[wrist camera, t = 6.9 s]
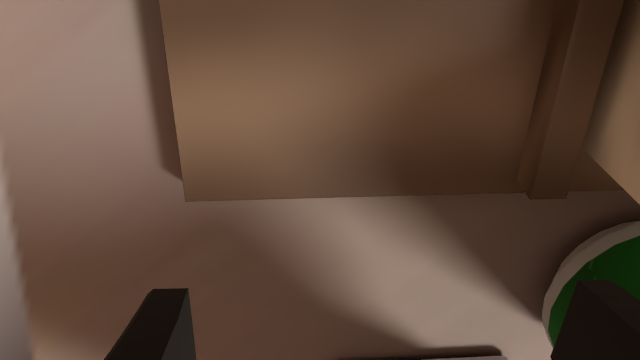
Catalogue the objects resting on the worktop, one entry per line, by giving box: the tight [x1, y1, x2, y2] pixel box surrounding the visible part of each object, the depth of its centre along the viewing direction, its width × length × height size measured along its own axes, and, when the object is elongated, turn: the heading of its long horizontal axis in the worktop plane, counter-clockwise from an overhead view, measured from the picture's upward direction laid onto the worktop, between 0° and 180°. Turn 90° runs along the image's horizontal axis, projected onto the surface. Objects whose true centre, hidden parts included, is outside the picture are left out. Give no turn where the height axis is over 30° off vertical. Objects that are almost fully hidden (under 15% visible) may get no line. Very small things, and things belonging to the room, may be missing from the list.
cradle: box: [159, 0, 624, 202], centre depth 15 cm, size 12×20×4 cm, turn 89°
